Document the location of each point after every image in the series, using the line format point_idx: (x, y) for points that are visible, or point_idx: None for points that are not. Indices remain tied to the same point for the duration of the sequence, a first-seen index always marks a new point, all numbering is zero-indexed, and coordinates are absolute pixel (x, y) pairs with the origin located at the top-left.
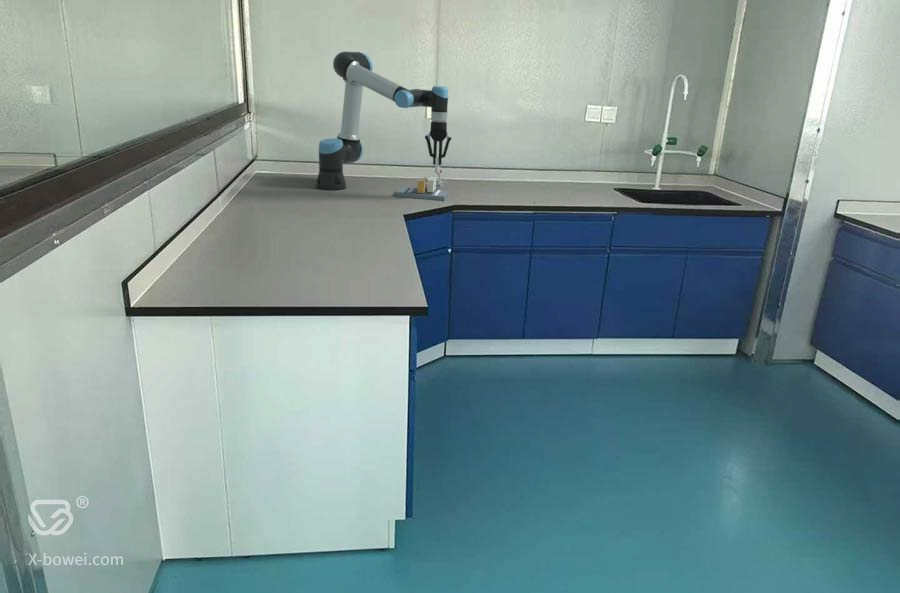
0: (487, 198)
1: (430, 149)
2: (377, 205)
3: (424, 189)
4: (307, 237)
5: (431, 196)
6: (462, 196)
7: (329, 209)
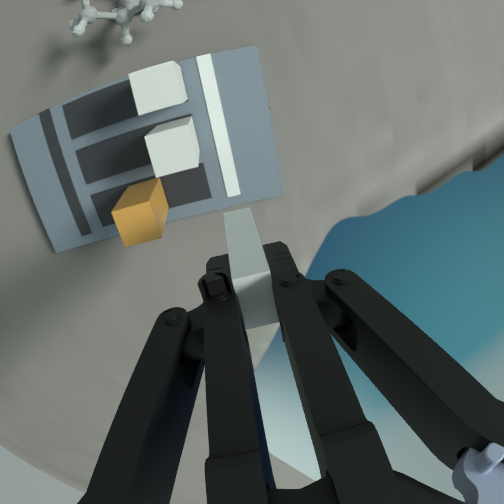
0: (431, 42)
1: (185, 416)
2: (115, 375)
3: (159, 190)
4: (181, 493)
5: (217, 208)
6: (330, 43)
7: (78, 428)
